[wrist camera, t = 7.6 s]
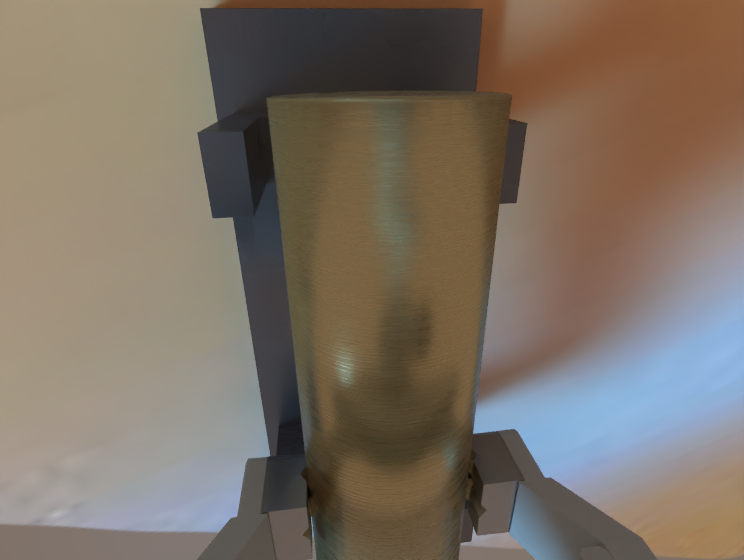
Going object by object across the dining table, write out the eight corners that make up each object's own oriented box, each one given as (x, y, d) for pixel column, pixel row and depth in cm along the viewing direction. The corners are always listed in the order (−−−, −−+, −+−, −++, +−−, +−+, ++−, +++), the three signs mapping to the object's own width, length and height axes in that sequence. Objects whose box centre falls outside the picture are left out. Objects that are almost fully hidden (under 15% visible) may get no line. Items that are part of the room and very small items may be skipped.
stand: (206, 12, 14) (136, -29, 8) (472, 12, 15) (573, -24, 9) (278, 482, 24) (268, 615, 18) (438, 463, 25) (478, 583, 19)
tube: (275, 92, 9) (253, 105, 5) (464, 89, 9) (561, 99, 6) (326, 605, 17) (331, 752, 13) (428, 590, 17) (460, 727, 13)
